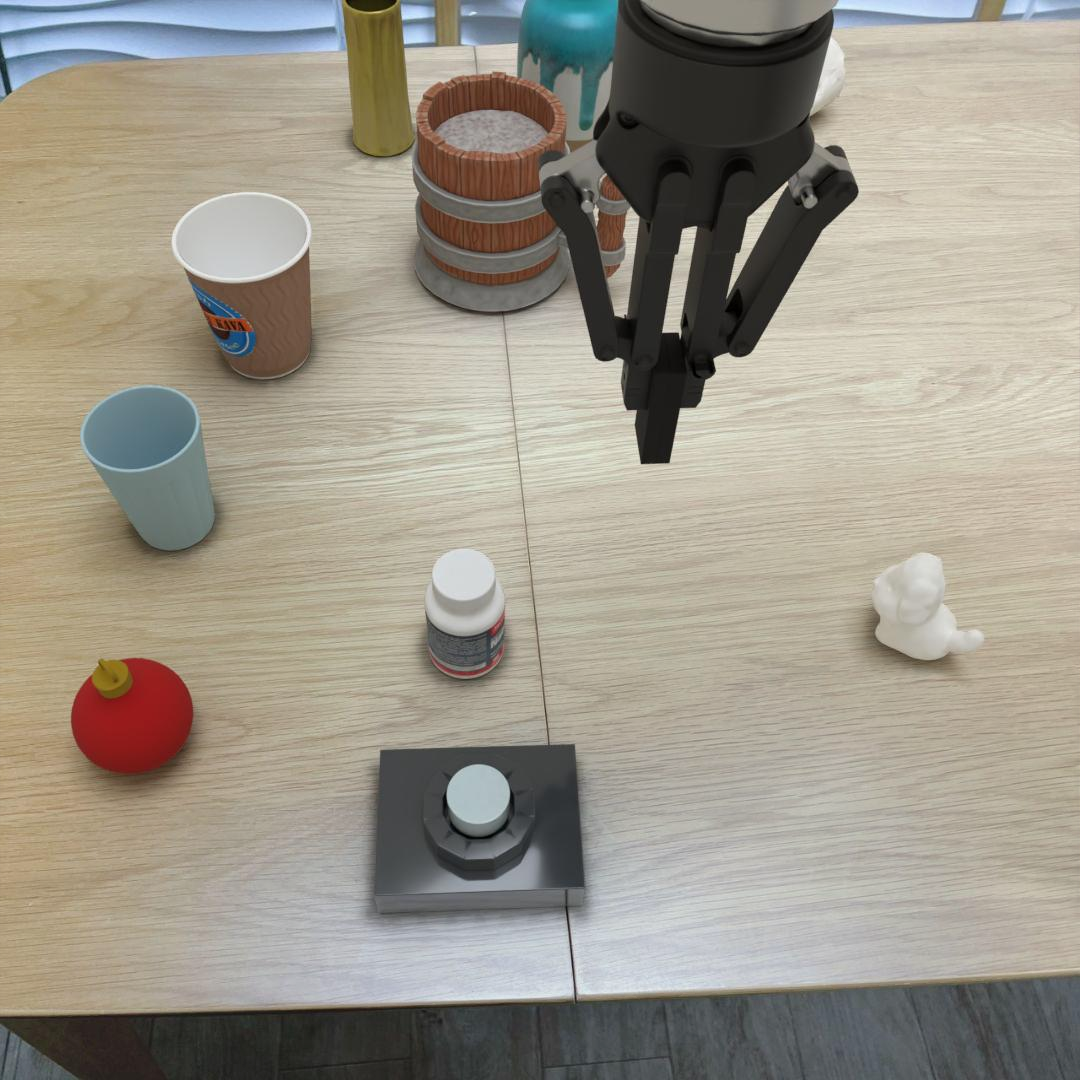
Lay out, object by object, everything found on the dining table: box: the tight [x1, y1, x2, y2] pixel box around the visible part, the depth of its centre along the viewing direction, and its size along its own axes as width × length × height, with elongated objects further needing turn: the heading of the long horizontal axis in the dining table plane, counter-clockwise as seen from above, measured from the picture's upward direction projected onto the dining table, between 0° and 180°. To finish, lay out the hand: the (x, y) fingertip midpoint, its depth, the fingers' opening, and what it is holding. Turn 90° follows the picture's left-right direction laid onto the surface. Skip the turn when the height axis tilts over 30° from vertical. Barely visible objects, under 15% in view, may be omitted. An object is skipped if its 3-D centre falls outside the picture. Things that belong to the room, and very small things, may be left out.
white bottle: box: [810, 36, 847, 117], centre depth 108 cm, size 8×19×8 cm, turn 135°
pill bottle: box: [424, 548, 506, 680], centre depth 72 cm, size 5×5×9 cm
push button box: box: [373, 743, 586, 914], centre depth 65 cm, size 12×9×5 cm
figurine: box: [871, 551, 985, 661], centre depth 74 cm, size 5×8×8 cm
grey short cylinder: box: [447, 764, 510, 837], centre depth 63 cm, size 4×4×2 cm
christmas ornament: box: [70, 657, 194, 775], centre depth 66 cm, size 7×7×10 cm
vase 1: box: [341, 0, 415, 157], centre depth 103 cm, size 6×6×14 cm
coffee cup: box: [171, 191, 313, 380], centre depth 86 cm, size 10×10×12 cm
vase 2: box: [516, 0, 618, 153], centre depth 101 cm, size 11×11×19 cm
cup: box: [79, 384, 216, 552], centre depth 76 cm, size 8×8×10 cm
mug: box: [411, 70, 632, 313], centre depth 92 cm, size 14×19×15 cm
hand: (651, 443), depth 57 cm, fingers closed
